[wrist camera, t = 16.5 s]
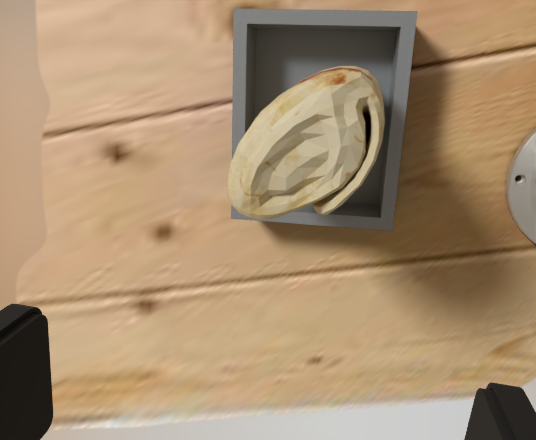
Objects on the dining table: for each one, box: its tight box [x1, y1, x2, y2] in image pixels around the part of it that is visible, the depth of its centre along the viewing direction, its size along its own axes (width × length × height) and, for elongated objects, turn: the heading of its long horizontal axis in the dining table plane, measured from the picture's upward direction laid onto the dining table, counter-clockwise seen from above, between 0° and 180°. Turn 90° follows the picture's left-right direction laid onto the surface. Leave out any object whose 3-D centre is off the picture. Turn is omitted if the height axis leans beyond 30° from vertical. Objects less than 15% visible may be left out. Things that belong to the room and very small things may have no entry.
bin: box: [231, 9, 417, 231], centre depth 39 cm, size 13×16×5 cm
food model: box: [228, 66, 385, 220], centre depth 31 cm, size 10×7×20 cm
